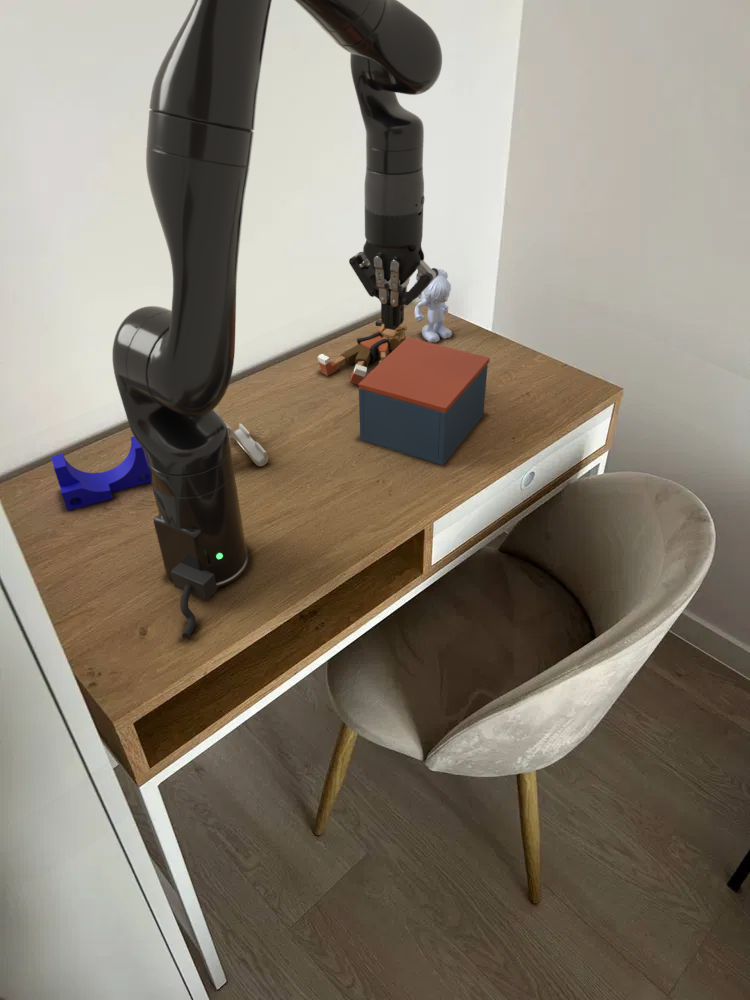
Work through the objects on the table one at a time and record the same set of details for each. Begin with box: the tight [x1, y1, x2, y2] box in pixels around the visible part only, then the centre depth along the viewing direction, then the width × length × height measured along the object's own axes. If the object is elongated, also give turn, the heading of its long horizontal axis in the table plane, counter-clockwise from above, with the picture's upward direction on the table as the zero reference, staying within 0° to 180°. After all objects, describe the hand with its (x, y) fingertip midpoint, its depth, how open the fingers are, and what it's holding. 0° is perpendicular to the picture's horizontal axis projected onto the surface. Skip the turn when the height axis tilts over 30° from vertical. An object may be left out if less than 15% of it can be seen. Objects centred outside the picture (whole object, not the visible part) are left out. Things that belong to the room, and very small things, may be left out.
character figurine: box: [317, 319, 408, 386], centre depth 138 cm, size 12×5×18 cm
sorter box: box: [358, 364, 489, 466], centre depth 120 cm, size 15×14×9 cm
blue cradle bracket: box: [51, 436, 151, 512], centre depth 110 cm, size 12×4×6 cm, turn 114°
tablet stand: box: [214, 408, 269, 467], centre depth 115 cm, size 9×8×8 cm
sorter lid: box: [358, 336, 490, 413], centre depth 117 cm, size 15×14×1 cm
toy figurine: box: [413, 268, 453, 344], centre depth 141 cm, size 7×6×12 cm
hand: (392, 326), depth 114 cm, fingers closed
